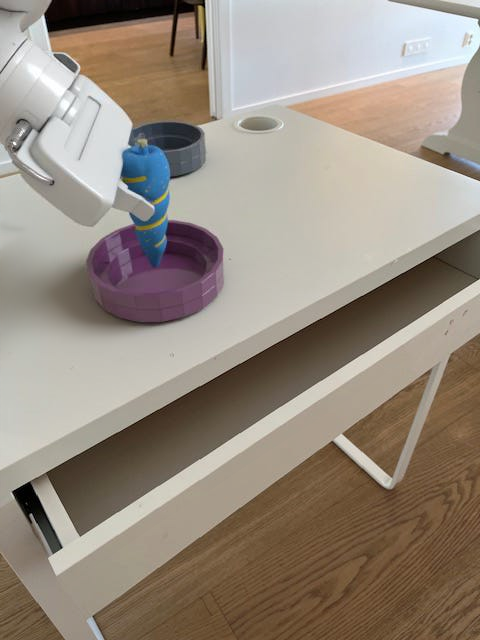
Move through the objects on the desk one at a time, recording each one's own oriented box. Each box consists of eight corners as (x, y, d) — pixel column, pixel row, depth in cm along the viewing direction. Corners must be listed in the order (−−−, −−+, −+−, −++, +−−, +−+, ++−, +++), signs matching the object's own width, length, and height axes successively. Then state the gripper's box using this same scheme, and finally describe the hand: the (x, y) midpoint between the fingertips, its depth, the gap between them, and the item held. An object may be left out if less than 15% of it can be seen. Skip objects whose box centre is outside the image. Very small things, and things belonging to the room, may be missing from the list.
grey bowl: (112, 174, 82) (107, 146, 79) (147, 143, 92) (144, 117, 89) (188, 184, 79) (185, 156, 76) (217, 151, 89) (215, 125, 86)
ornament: (123, 269, 58) (99, 136, 48) (154, 249, 61) (138, 121, 51) (158, 284, 55) (140, 147, 46) (188, 262, 59) (177, 131, 49)
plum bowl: (68, 310, 57) (59, 281, 54) (131, 239, 67) (126, 212, 65) (196, 337, 53) (193, 308, 50) (240, 258, 64) (240, 230, 61)
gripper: (19, 119, 37) (169, 230, 44) (70, 48, 52) (174, 139, 59) (-23, 179, 40) (124, 276, 46) (37, 95, 55) (141, 177, 62)
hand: (153, 198), depth 53 cm, fingers closed on ornament, 5 cm apart
